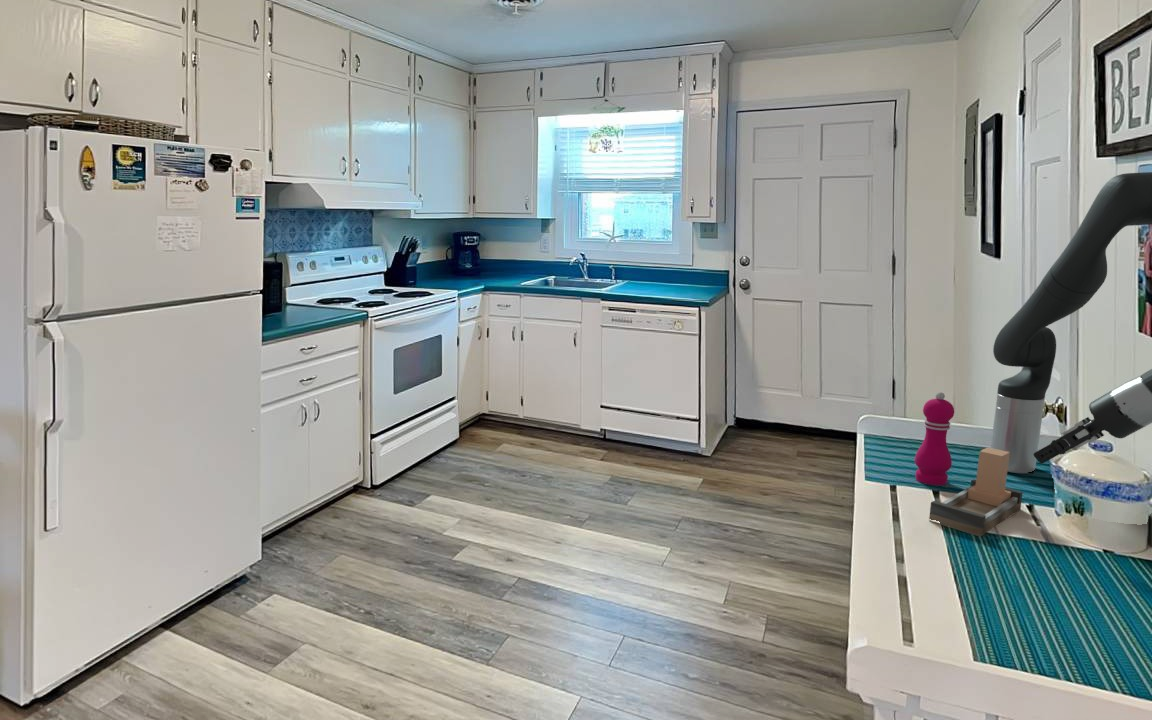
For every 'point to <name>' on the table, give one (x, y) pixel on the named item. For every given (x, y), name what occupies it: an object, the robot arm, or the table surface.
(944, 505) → the track
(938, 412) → the pepper mill
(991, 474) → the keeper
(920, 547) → the table surface
